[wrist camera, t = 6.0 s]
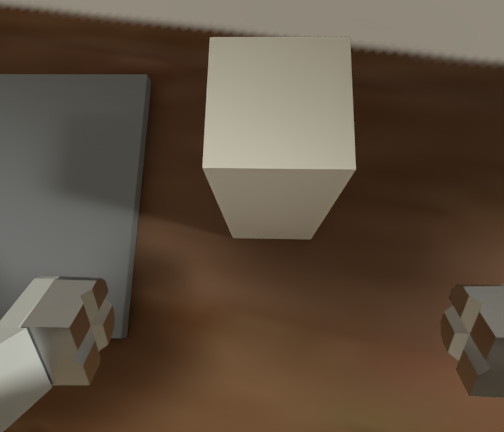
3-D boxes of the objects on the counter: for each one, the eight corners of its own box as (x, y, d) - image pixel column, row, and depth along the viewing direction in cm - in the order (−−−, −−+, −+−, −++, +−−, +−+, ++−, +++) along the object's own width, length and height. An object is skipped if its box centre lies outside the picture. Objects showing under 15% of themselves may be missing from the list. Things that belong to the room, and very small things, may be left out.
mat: (151, 82, 22) (147, 74, 21) (126, 337, 19) (121, 338, 18) (-52, 82, 23) (-63, 73, 22) (-111, 330, 19) (-127, 331, 18)
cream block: (310, 165, 21) (350, 36, 11) (310, 239, 20) (356, 169, 10) (235, 165, 21) (209, 37, 11) (232, 238, 20) (202, 168, 10)
